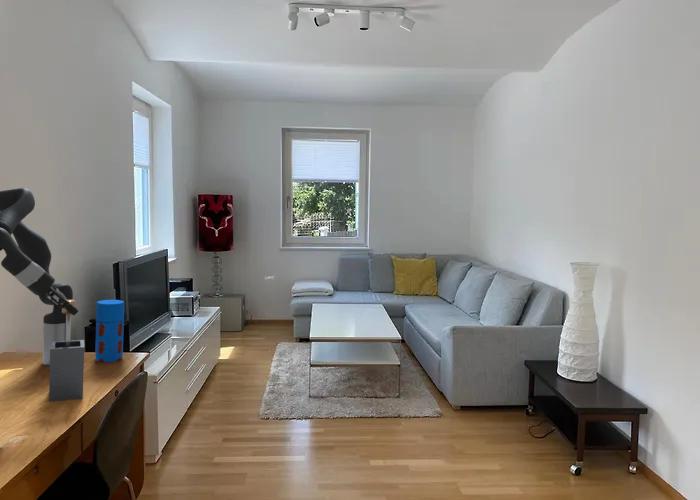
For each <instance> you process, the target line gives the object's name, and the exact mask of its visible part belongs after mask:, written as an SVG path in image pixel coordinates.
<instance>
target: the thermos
mask: <svg viewBox="0 0 700 500" xmlns="http://www.w3.org/2000/svg"><path fill="white" fill-rule="evenodd" d="M95 316H96V317H95V318H96V319H95V349H94V350H95V354H94V355H95V361H97V362H99V363H111V362H112V363H114V362H118V361H121V360H122V359H123V354H124V334H125V333H124V331H125V330H124V328H125V327H124V326H125V324H124V323H125V301H124V300H122V299H121V300H120V299H103V300H98V301H97V302H96V315H95Z"/></svg>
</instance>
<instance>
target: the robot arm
mask: <svg viewBox="0 0 700 500" xmlns="http://www.w3.org/2000/svg"><path fill="white" fill-rule="evenodd" d="M35 204H36V199H35V196H34V194H33V192H32V191H31V190H30V189H28V188H25V187H20V188H19V187H18V188H13V189H5V190H0V252H1V251H4V253H5V255H6V256H5V257H4V258H3V259H2V260H1V262H0V265H1V266H2V268H3V269H4V270H6V271H7V272H8V273H10V275H12V276H13V277H15V279H16V280H17V281H18V282H19V283H20V284H21V285H22V286H24V287H25V288H26V289H28V290H29V291H31V293H33V294H34V295H35V296H38V298H39V300H40V301H41V302H42V303H43V304H44V305H48V306H53V307H52V311H51V312H50V313H46V314H44V315H43V319H42V320H43V323H42V325H43V326H42V328H43V329H42V365H44V366H50V348H51V343H52V342H54V341H66V314H65V313H62V308H63V309H66V310H67V311H68V312H69V313H71V316H76V314H78V313H79V310H78V308H77V307H74V306H72V305H71V304H70V302H68V301H67V300H74V299H73V298H74V295H73V294H74V293H73V288H72V287H71V286H70V285H69V284H67V283H60V282H55V281H56V279H55V278H54V277H53V276H52V275H51V273H50V266H51V260H52V252H51V250H50V247H49V245H48V243H47V240H46V239H45V238H44V237H43V236H42V235H41V234H40V233H38V232H37V231H35V230H33V229H32V228H30V227H29V226H27V224H25V223H24V222H23V220H24V219H25V218H26V217H27V216H28V215H29V214H30V213H32V212H33V211H34V209H35V206H36V205H35ZM12 236H13V237H14V238H13V237H12ZM63 301H65V303H64V304H63V305H62V302H63Z"/></svg>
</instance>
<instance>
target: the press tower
mask: <svg viewBox="0 0 700 500" xmlns="http://www.w3.org/2000/svg"><path fill="white" fill-rule="evenodd" d="M65 346H66V341H54V342H52V343H51V348H50V365H49V381H48V382H49V385H48V386H49V387H48V388H49V389H48V402H49V403H50V402H51V403H53V402H61V401H70V399H71V400H79V399H80V400H81V399H83V398H84V373H85V372H84V369H85V340H84V339H75V340H74V339H73V340H71V339H70V347H65ZM52 401H53V402H52Z"/></svg>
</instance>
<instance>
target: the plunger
mask: <svg viewBox="0 0 700 500" xmlns="http://www.w3.org/2000/svg"><path fill="white" fill-rule="evenodd" d="M67 301H68V302H70V304H71V305H72V306H74V307H76V304H77V303H76V299H75V300H74V299H73V300H67ZM64 303H65V301H63V302H62V305H63V304H64ZM76 308H77V307H76ZM62 313H65V314H66V346H65V347H70V341H71V332H72V331H71V325H72V314H71V313H69V312H68V311H67V310H66V309H63V308H62Z"/></svg>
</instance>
